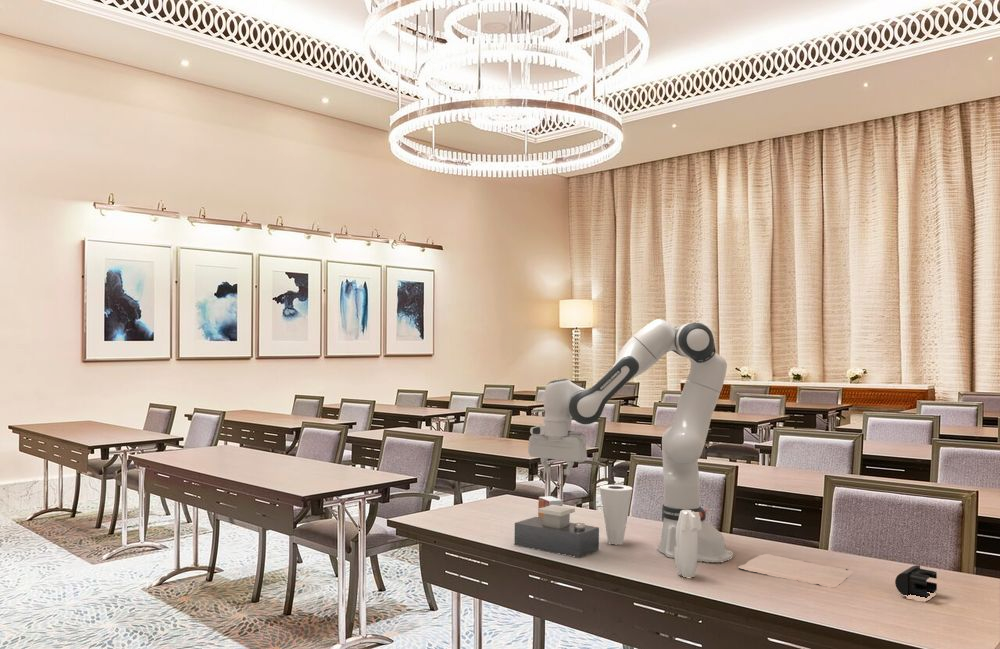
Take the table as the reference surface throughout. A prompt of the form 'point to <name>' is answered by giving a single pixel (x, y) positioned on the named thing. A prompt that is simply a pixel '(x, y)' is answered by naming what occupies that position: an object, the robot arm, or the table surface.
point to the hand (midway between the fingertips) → (556, 473)
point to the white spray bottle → (687, 542)
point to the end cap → (916, 582)
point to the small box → (548, 503)
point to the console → (557, 537)
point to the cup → (615, 510)
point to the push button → (556, 516)
